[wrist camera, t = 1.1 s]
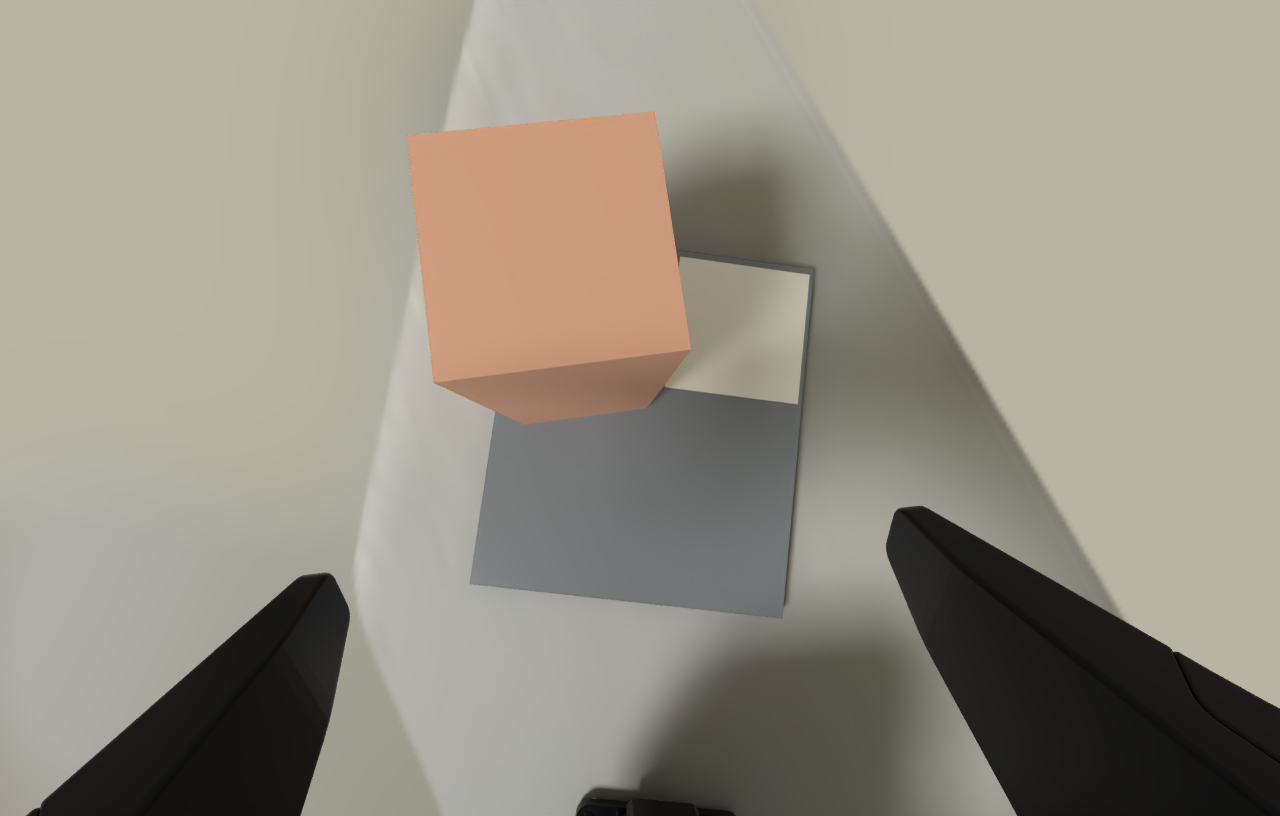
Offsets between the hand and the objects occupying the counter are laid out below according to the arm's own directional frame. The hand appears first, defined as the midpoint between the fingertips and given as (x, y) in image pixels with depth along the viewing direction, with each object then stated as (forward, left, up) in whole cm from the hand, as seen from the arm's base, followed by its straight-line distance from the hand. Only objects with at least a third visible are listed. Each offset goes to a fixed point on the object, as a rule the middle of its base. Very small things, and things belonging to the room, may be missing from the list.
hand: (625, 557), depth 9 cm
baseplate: (+3, -1, -14) cm, 15 cm away
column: (+6, +2, -14) cm, 15 cm away
